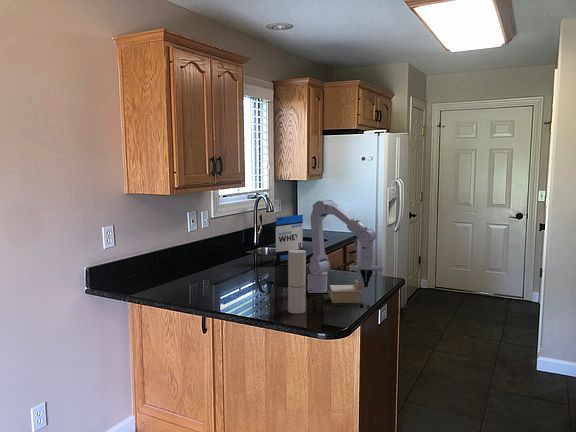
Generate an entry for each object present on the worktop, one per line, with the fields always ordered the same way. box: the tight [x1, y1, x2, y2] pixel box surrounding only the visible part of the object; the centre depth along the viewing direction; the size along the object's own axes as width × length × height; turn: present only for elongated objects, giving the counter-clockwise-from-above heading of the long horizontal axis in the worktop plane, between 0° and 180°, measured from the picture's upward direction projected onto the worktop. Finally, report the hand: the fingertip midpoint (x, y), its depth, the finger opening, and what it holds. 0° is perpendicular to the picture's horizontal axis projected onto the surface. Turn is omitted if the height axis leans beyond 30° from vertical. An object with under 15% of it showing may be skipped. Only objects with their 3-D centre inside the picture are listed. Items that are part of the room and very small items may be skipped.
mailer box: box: [329, 287, 361, 304], centre depth 213 cm, size 12×10×5 cm
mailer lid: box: [329, 279, 362, 293], centre depth 213 cm, size 12×10×3 cm
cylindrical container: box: [287, 249, 307, 314], centre depth 197 cm, size 7×7×25 cm
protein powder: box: [275, 214, 304, 268], centre depth 294 cm, size 10×24×30 cm, turn 137°
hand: (365, 286), depth 213 cm, fingers closed
